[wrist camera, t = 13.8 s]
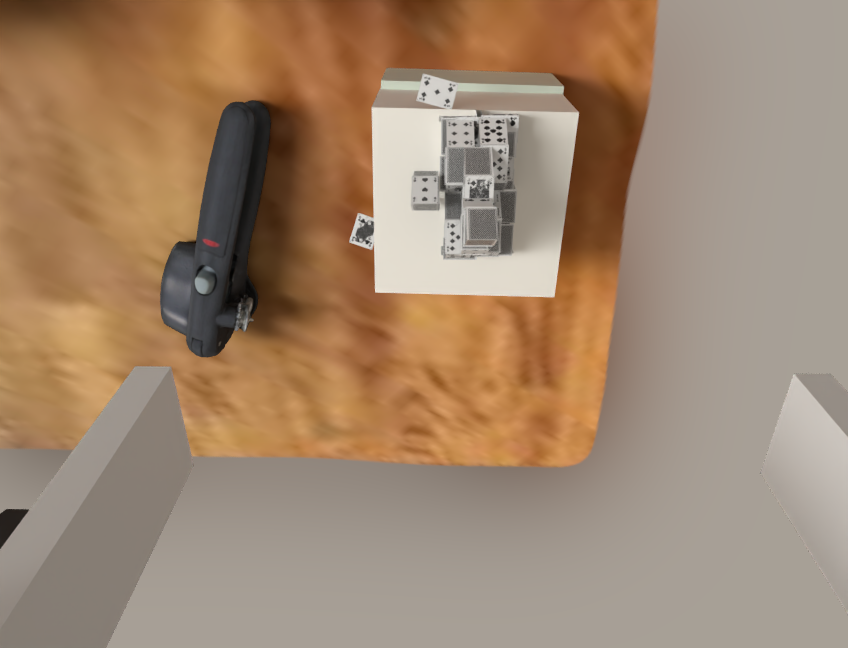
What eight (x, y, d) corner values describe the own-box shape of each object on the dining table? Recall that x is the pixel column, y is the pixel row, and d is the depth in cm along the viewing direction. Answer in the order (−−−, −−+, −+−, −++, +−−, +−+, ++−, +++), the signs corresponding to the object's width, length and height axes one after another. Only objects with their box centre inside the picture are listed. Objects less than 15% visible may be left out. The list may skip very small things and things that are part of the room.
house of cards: (337, 73, 31) (309, 106, 24) (522, 72, 30) (545, 105, 24) (349, 250, 35) (328, 319, 28) (511, 250, 35) (528, 319, 28)
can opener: (254, 340, 49) (233, 382, 45) (162, 311, 48) (131, 351, 43) (315, 115, 41) (298, 137, 36) (206, 75, 40) (173, 92, 35)
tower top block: (381, 256, 41) (375, 292, 36) (379, 89, 36) (371, 107, 31) (541, 260, 41) (554, 297, 36) (561, 93, 36) (578, 112, 31)
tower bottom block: (387, 221, 45) (381, 249, 40) (387, 66, 40) (380, 80, 35) (532, 226, 45) (542, 255, 40) (550, 72, 40) (563, 86, 35)
